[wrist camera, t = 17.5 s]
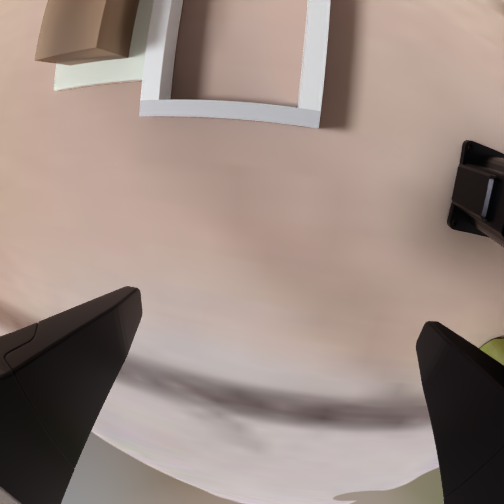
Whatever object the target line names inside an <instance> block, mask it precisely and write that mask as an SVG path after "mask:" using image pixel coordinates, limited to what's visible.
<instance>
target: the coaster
mask: <svg viewBox="0 0 504 504" xmlns="http://www.w3.org/2000/svg"><path fill="white" fill-rule="evenodd" d="M153 3H154V0H140V1H139V5H138V9H137V14H136V19H135V24H134V28H133V34H132V39H131V45H130V51H129V57H128V58H124V59H114V60H105V61H97V62H90V63H83V64H77V65H71V66H69V65H63V64H57V63H56V71H55V80H54V90H53V91H64V90H70V89H76V88H82V87H89V86H97V85H105V84H114V83H124V82H137V81H142V78H143V69H144V61H145V53H146V45H147V38H148V32H149V25H150V19H151V14H152V8H153Z"/></svg>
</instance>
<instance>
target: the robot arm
mask: <svg viewBox="0 0 504 504" xmlns="http://www.w3.org/2000/svg"><path fill="white" fill-rule="evenodd" d="M468 145H470V150H468ZM453 220H455V223H454V224H452V222H453ZM447 224H448V226H449V227H450V228H452V229H454V230H459V231H463V232H468V233H473V234H477V235H481V236H486V237H490V238H491V239H493V240H494V241H496V242H497V243H498V244H500V245H501V246H503V247H504V154H502V153H500V152H498V151H495V150H493V149H491V148H488V147H486V146H483V145H481V144H478V143H476V142H473V141H469V140H466V141H464V143H463V145H462V152H461V158H460V164H459V167H458V170H457V176H456V181H455V186H454V190H453V195H452V203H451V207H450V212H449V216H448V220H447ZM141 317H142V303H141V293H140V290H139V289H138V288H135V287H130V286H126V287H123V288H121V289H118V290H116V291H113V292H111V293H108V294H106V295H103V296H101V297H98V298H96V299H93V300H91V301H88V302H86V303H83V304H81V305H78V306H76V307H74V308H71V309H69V310H66V311H64V312H61V313H59V314H56V315H54V316H52V317H49V318H47V319H44V320H42V321H39V323H34V324H32V325H30V326H27V327H25V328H22V329H20V330H17V331H14V332H12V333H9V334H6V335H3V336H0V504H61V502H62V499H63V497H64V494H65V492H66V489H67V487H68V484H69V482H70V479H71V476H72V474H73V472H74V468H75V466H76V464H77V462H78V459H79V457H80V455H81V452H82V450H83V448H84V446H85V443H86V441H87V439H88V437H89V434H90V432H91V430H92V428H93V426H94V423H95V421H96V419H97V417H98V415H99V413H100V410H101V408H102V406H103V404H104V402H105V400H106V398H107V396H108V394H109V392H110V390H111V387H112V385H113V383H114V381H115V379H116V377H117V375H118V373H119V371H120V369H121V367H122V365H123V363H124V361H125V359H126V357H127V355H128V352H129V350H130V347H131V344H132V341H133V339H134V336H135V333H136V331H137V328H138V325H139V323H140V320H141ZM416 351H417V357H418V362H419V368H420V374H421V381H422V386H423V391H424V395H425V399H426V403H427V407H428V411H429V416H430V420H431V425H432V429H433V434H434V439H435V444H436V450H437V455H438V461H439V467H440V474H441V481H442V488H443V496H444V504H504V365H502V364H501V363H500V362H498V361H497V360H495V359H494V358H492V357H491V356H489V355H488V354H486V353H485V352H483V351H482V350H480V349H479V348H477V347H476V346H474V345H473V344H471V343H470V342H468V341H467V340H465V339H464V338H462V337H461V336H459V335H458V334H456V333H455V332H453V331H451V330H450V329H448V328H447V327H445V326H444V325H442V324H441V323H439V322H436V321H428V322H426V323H425V324H424V326H423V329H422V331H421V333H420V335H419V338H418V340H417V343H416Z"/></svg>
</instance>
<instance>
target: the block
mask: <svg viewBox="0 0 504 504" xmlns="http://www.w3.org/2000/svg"><path fill="white" fill-rule="evenodd" d="M139 1H140V0H48V2H47V6H46V9H45V13H44V17H43V21H42V25H41V30H40V34H39V39H38V44H37V49H36V55H35V61H42V62H50V63H57V64H63V65H69V66H71V65H77V64H83V63H90V62H97V61H105V60H114V59H124V58H128V57H129V51H130V45H131V39H132V34H133V28H134V24H135V19H136V14H137V9H138V5H139Z"/></svg>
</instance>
